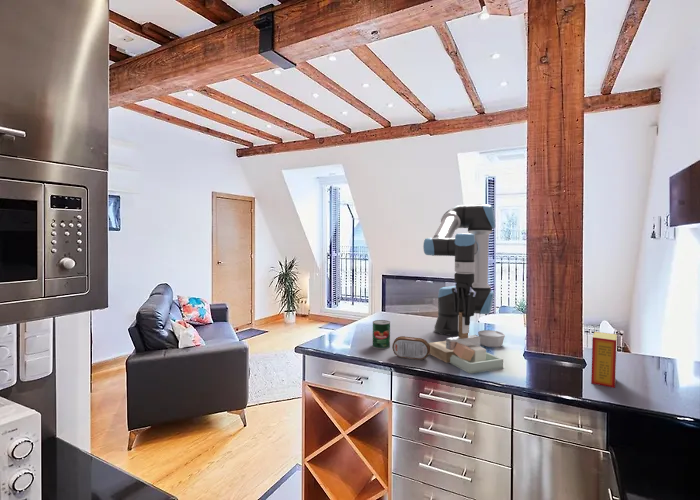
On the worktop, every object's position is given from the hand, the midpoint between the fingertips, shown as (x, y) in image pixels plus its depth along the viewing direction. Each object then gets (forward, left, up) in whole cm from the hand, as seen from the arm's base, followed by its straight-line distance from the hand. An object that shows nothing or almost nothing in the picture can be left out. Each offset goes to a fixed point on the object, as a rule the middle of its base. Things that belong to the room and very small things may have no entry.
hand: (463, 332), depth 153 cm
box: (-1, +7, -11) cm, 13 cm away
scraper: (0, 0, -6) cm, 6 cm away
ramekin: (-26, -14, -12) cm, 32 cm away
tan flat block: (0, -7, -11) cm, 13 cm away
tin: (+18, -10, -12) cm, 24 cm away
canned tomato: (+22, -29, -12) cm, 38 cm away
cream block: (-3, +3, -8) cm, 9 cm away
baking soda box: (-31, +35, -12) cm, 48 cm away
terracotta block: (+4, +4, -8) cm, 10 cm away
